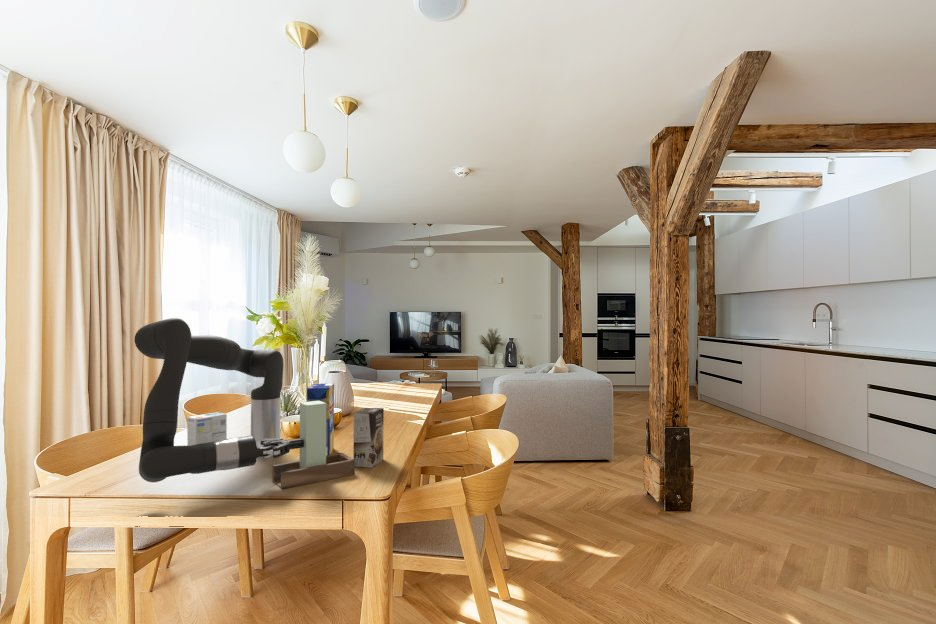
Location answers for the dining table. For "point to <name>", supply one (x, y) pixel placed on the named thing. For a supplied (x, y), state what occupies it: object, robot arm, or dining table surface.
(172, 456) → the robot arm
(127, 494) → the dining table surface
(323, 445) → the block
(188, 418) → the light bulb box
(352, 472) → the chute
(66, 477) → the dining table surface
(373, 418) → the coffee box
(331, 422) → the beverage box
